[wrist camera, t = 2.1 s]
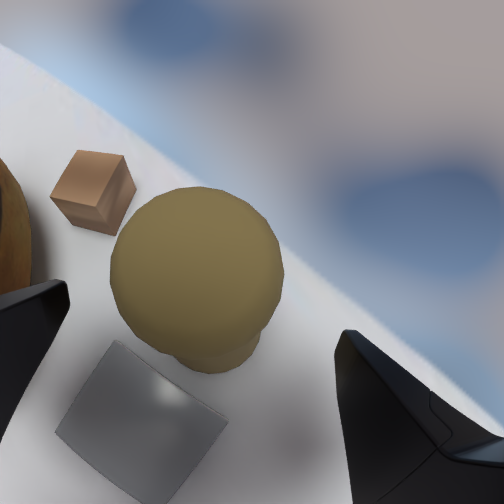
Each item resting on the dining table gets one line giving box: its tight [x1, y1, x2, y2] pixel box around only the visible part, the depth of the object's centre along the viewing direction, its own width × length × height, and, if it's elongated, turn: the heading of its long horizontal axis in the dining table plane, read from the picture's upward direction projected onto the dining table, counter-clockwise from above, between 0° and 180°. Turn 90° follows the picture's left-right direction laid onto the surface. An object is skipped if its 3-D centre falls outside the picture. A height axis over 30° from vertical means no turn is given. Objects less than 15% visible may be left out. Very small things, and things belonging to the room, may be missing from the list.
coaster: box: [55, 340, 229, 504], centre depth 14 cm, size 8×8×1 cm
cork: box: [110, 187, 284, 374], centre depth 12 cm, size 6×6×11 cm
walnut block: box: [50, 150, 137, 236], centre depth 18 cm, size 4×4×4 cm
